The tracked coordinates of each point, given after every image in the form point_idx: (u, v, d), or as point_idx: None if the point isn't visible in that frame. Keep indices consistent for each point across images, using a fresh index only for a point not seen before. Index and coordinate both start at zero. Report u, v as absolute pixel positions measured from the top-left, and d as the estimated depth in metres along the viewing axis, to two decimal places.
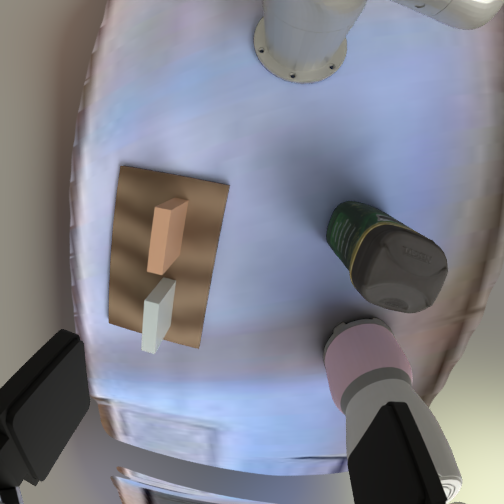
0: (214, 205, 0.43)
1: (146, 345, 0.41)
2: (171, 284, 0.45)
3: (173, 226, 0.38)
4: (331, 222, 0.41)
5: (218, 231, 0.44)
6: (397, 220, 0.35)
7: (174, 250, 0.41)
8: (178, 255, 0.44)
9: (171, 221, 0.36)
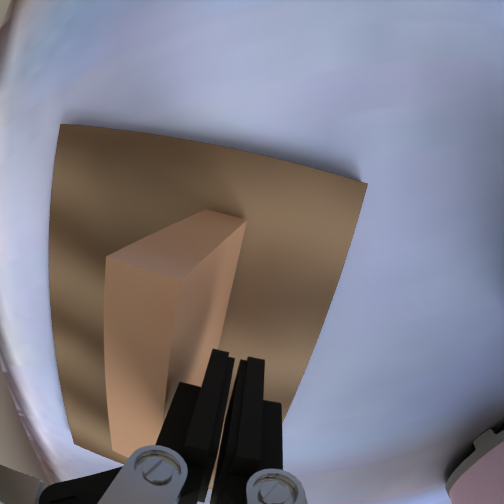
0: (323, 236, 0.15)
1: None
2: None
3: (195, 326, 0.10)
4: None
5: (326, 306, 0.16)
6: None
7: (200, 373, 0.13)
8: None
9: (186, 317, 0.08)
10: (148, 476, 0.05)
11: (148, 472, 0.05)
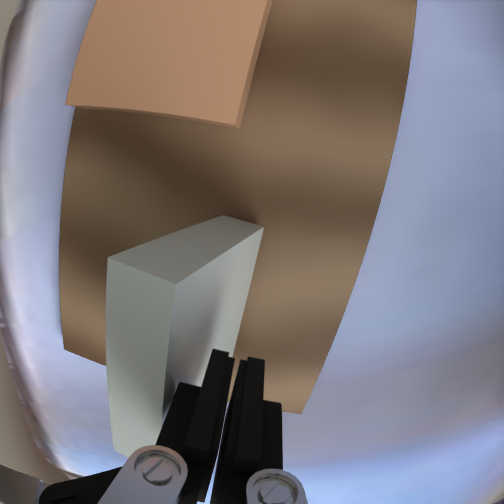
0: (390, 16, 0.11)
1: (128, 443, 0.09)
2: (248, 231, 0.13)
3: None
4: None
5: (404, 80, 0.12)
6: None
7: (160, 70, 0.11)
8: (216, 116, 0.11)
9: None
10: (148, 476, 0.05)
11: (148, 472, 0.05)
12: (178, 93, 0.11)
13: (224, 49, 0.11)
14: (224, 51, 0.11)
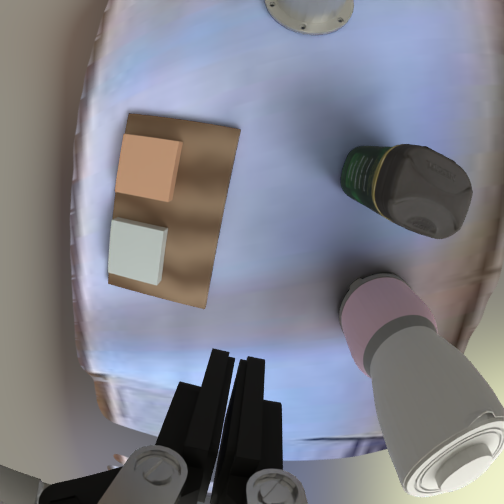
0: (225, 149, 0.40)
1: None
2: (152, 228, 0.42)
3: (134, 153, 0.39)
4: (345, 165, 0.39)
5: (228, 176, 0.41)
6: None
7: (145, 183, 0.40)
8: (162, 199, 0.40)
9: (128, 145, 0.39)
10: (148, 476, 0.05)
11: (148, 472, 0.05)
12: (151, 192, 0.40)
13: (163, 177, 0.40)
14: (163, 178, 0.40)
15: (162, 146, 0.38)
